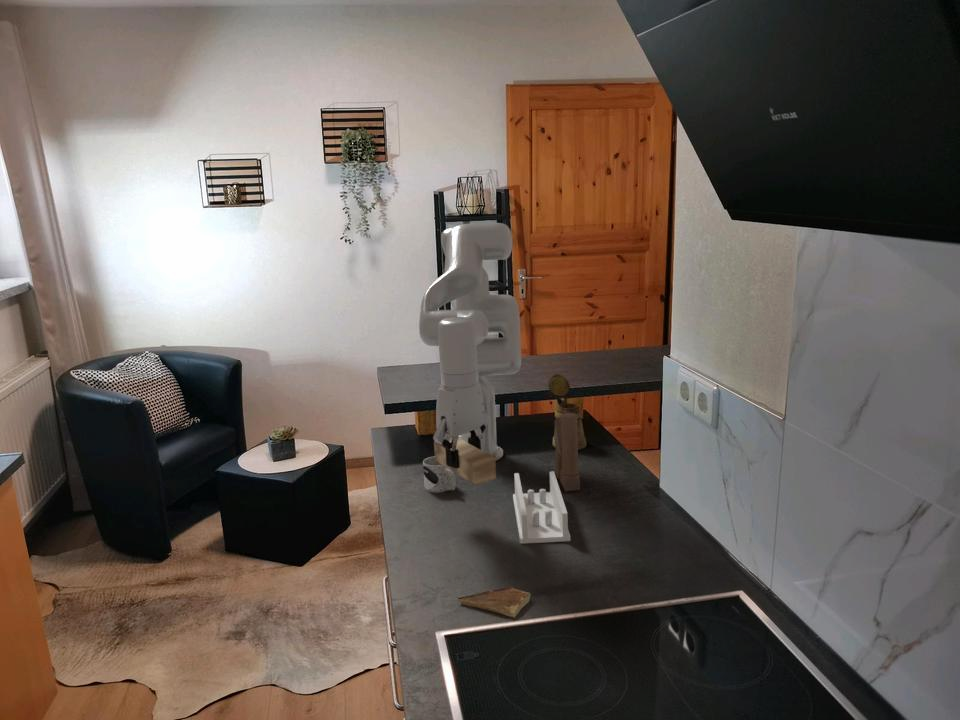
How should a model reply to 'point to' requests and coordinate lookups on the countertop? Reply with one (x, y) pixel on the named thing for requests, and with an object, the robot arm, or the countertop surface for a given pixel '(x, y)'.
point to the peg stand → (541, 513)
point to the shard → (499, 601)
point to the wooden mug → (566, 405)
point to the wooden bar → (469, 462)
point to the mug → (437, 476)
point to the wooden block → (567, 451)
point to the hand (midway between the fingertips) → (464, 460)
